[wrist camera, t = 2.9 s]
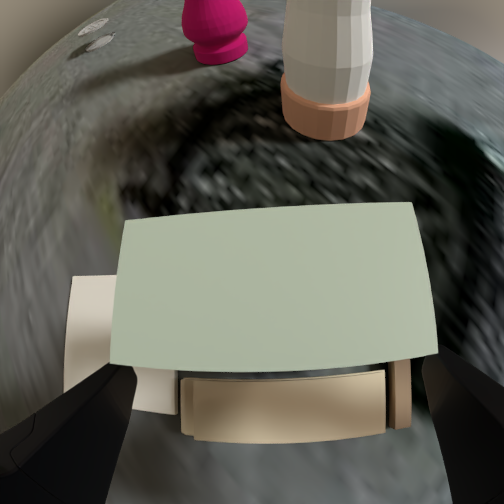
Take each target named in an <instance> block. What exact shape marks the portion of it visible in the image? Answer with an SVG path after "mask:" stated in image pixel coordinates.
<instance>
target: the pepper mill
mask: <svg viewBox="0 0 504 504" xmlns="http://www.w3.org/2000/svg"><path fill="white" fill-rule="evenodd" d="M247 23H248V19H247V15H246V11H245V9H244V7H243V5H242V3H241V2H240V1H239V0H185V3H184V9H183V14H182V29H183V33H184V35H185V37H186V38H187V39H189V40H190V41H192V42H194V45H193V50H194V53H195V57H196V59H197V61H199V62H200V63H203V64H208V65H217V64H224V63H228V62H231V61H234V60H236V59H238V58H240V57H242V56H243V55H244V54H245V53H246V52H247V50H248V45H247V39H246V36H245V34H244V33H242V32H243V31H244V29H245V28H246V26H247Z"/></svg>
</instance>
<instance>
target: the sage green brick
mask: <svg viewBox="0 0 504 504" xmlns="http://www.w3.org/2000/svg"><path fill="white" fill-rule="evenodd" d="M436 353H438V344H437V333H436V323H435V315H434V307H433V300H432V293H431V287H430V281H429V275H428V270H427V265H426V260H425V255H424V250H423V245H422V241H421V237H420V232H419V228H418V224H417V220H416V216H415V213H414V209H413V205H412V202H393V203H355V204H329V205H308V206H289V207H273V208H258V209H244V210H231V211H218V212H206V213H195V214H184V215H174V216H164V217H154V218H145V219H136V220H127V221H125V226H124V232H123V237H122V243H121V250H120V256H119V263H118V270H117V278H116V286H115V295H114V305H113V316H112V329H111V345H110V364H118V365H126V366H136V367H146V368H157V369H170V370H186V371H209V372H277V371H300V370H316V369H329V368H340V367H350V366H359V365H368V364H376V363H383V362H390V361H397V360H403V359H409V358H415V357H421V356H426V355H431V354H436Z"/></svg>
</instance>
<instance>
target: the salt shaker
mask: <svg viewBox="0 0 504 504" xmlns="http://www.w3.org/2000/svg"><path fill="white" fill-rule="evenodd" d="M370 6H371V0H287V5H286V14H285V22H284V31H283V40H282V52H283V61H284V70H285V73H284V74H283V75H282V79H281V95H282V109H283V115H284V118H285V121H286V122H287V123H288V124H289V125H290V126H291V127H292V129H294V130H296V131H297V132H299V133H301V134H302V135H305V136H308V137H311V138H314V139H318V140H328V141H333V140H342V139H346V138H348V137H351V136H353V135H355V134H356V133H357V132H358V131H360V130H361V129H362V127H363V124H364V122H365V118H366V113H367V109H368V104H369V99H370V94H371V91H370V85H369V83H368V78H369V73H370V68H371V63H372V58H373V41H372V25H371V13H370Z"/></svg>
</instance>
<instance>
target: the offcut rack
mask: <svg viewBox="0 0 504 504" xmlns="http://www.w3.org/2000/svg"><path fill="white" fill-rule="evenodd" d="M388 375H389V427H391V428H393V429H395V430H396V429H401V428H406V427H411V372H410V358H409V359H403V360H397V361H390V362H388ZM385 422H386V398H385V370H376V371H368V372H360V373H351V374H341V375H330V376H318V377H302V378H280V379H212V378H190V377H186V378H184V379H183V380H181V433H184V434H185V435H192V436H194V440H201V441H212V442H228V443H262V444H267V443H302V442H317V441H329V440H339V439H347V438H355V437H362V436H369V435H375V434H381V433H385Z"/></svg>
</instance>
